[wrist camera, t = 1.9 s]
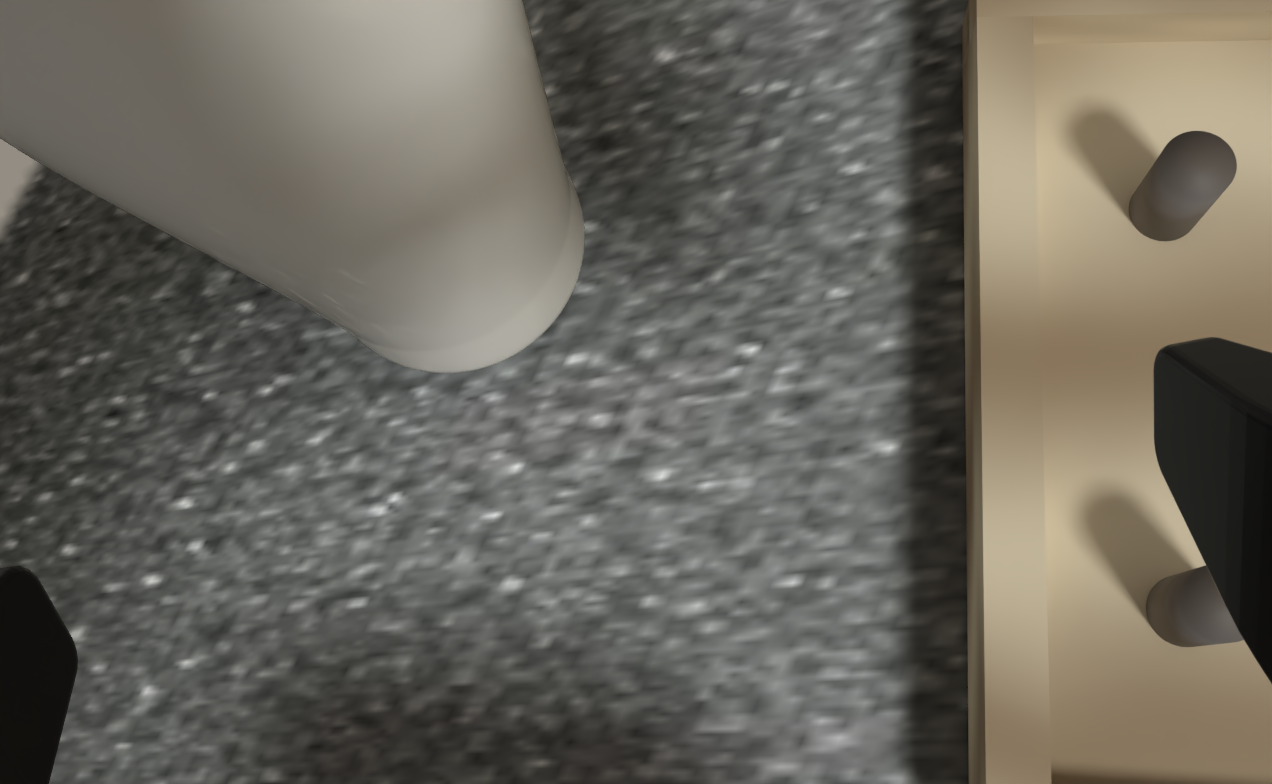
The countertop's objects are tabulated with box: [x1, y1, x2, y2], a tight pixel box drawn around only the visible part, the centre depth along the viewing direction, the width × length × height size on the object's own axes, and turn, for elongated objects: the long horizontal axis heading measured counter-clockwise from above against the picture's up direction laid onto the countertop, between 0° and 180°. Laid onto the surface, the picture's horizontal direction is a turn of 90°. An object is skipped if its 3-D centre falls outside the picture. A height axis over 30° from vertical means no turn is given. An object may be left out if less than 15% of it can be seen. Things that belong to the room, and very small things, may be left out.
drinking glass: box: [0, 0, 585, 373], centre depth 17 cm, size 7×7×15 cm
